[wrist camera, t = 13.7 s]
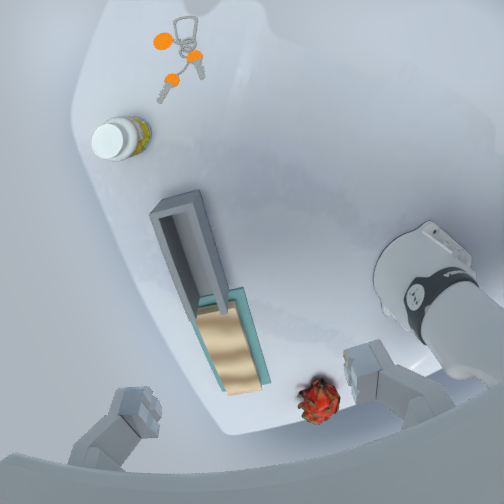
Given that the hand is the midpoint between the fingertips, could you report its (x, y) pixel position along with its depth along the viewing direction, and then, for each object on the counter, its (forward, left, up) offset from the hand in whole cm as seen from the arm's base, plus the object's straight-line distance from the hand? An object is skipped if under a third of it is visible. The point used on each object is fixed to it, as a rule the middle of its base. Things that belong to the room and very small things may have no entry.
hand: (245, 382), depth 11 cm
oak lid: (-6, +27, -33) cm, 43 cm away
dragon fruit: (-27, +35, -33) cm, 55 cm away
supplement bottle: (+16, -4, -33) cm, 37 cm away
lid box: (+3, +9, -33) cm, 35 cm away
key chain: (+13, -16, -34) cm, 40 cm away
